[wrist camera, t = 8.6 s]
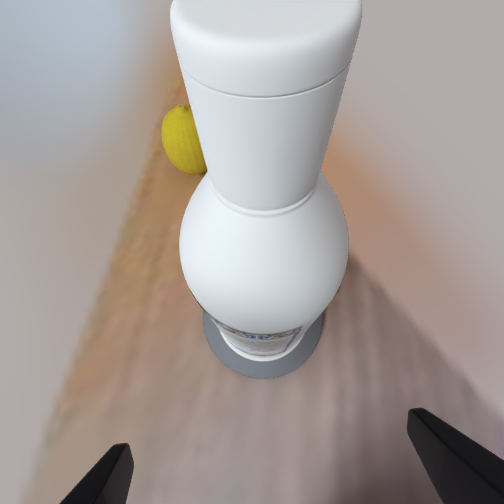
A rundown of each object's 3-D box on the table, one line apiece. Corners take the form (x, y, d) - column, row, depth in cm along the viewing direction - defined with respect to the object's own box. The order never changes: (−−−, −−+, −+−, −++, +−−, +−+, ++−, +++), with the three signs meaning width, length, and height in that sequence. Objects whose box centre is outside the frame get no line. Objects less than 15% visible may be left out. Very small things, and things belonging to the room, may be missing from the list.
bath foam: (264, 261, 24) (273, -100, 6) (321, 318, 21) (628, -15, 3) (204, 311, 22) (-45, -2, 4) (259, 379, 19) (230, 343, 2)
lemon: (215, 149, 32) (202, 82, 25) (228, 181, 30) (217, 117, 22) (171, 161, 31) (145, 95, 24) (180, 194, 29) (154, 133, 22)
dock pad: (336, 364, 20) (339, 364, 20) (211, 390, 20) (209, 390, 19) (302, 254, 25) (303, 250, 24) (200, 272, 24) (198, 269, 24)
